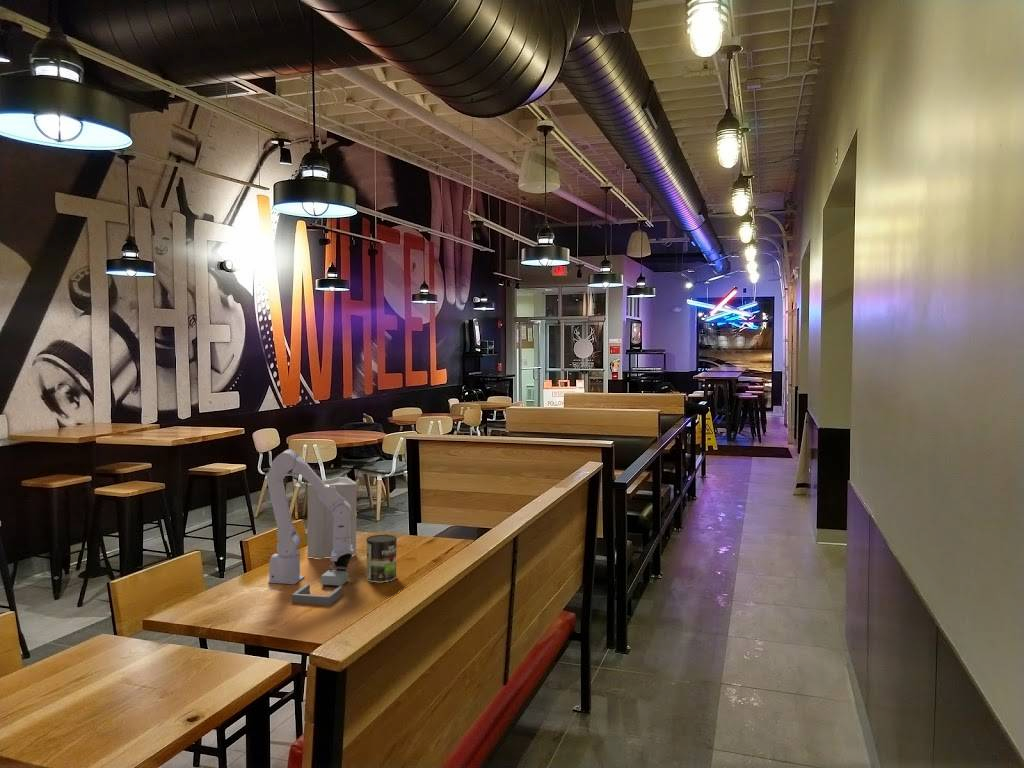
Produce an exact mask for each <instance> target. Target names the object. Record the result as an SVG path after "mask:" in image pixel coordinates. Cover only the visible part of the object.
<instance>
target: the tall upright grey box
mask: <svg viewBox="0 0 1024 768" xmlns="http://www.w3.org/2000/svg"><path fill="white" fill-rule="evenodd" d="M322 482H323V483H324V484H327V485H331V486H332V487H333V486H335V488H336V491H337V493H338V494H339V495H340V496H341V497H342V498H343V497H344V498H345V500H347V501H348V502H349V503H350V505H351V513H350V519H351V520H350V523H351V544H353V550H354V552H353V553H348V554H352V555H354V554H356V555H357V486H358V485H357V482H356V481H355V480H352V479H351V478H350V477H345V476H337V477H333V478H329V479H323V480H322ZM332 512H333V511H331V510H329V508H328V507H327V506H326V505H325V504H324V503H323V502H322V501H321V500H320V499H319V498H318V497H317V490H316V489H315V488H314V487H313V486H312V485H311V484H310V483H308V484H307V558H308V557H313V558H325V557H331V555H332V552H333V537H334V517H333V515H332Z"/></svg>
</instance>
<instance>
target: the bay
mask: <svg viewBox="0 0 1024 768" xmlns="http://www.w3.org/2000/svg"><path fill="white" fill-rule="evenodd" d="M343 589H344V586H343V585H342V586H338V587H337V588H335V589H334V590H333V591H331V592H330V593H329V594H328V595H322V594H321V595H319V594H309V593H310V591H311V585H310V584H307V583H306V584H304V585H302V587H300V588H299V589H297V590H296V591H295V592H293V593H292V594H291V604H302V605H303V604H304V605H305V604H306V605H317V606H319V605H320V606H331V605H332V604H333V603H334V602H336V601H337V600H338V599H339V598H340V597H342V596H343V594H344V593H343V592H344V590H343ZM336 599H337V600H336Z"/></svg>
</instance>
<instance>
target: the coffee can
mask: <svg viewBox="0 0 1024 768" xmlns="http://www.w3.org/2000/svg"><path fill="white" fill-rule="evenodd" d="M365 540H366V579H367V580H368V581H367V580H366V581H367V582H369V581H370V582H369V583H372V582H377V583H376V584H384V583H383V582H387V583H389V582H388V581H391V580H393V579H394V578H395V577H396V578H397V541H398V538H397V536H395V535H391V534H375V535H374V534H373V535H370V536H368V537H366V539H365ZM391 582H392V581H391Z"/></svg>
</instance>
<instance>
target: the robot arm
mask: <svg viewBox="0 0 1024 768" xmlns="http://www.w3.org/2000/svg"><path fill="white" fill-rule="evenodd" d="M291 470H292V471H291ZM290 471H291V474H296V475H301V476H302V477H303V478H304V480H306V482H307V483H308V484H311V485H312V486H313V487H314V488H315V489H316V490H317V497H318V498H319V499H320V500H321V501H322V502H323V503H324V504H325V505H326V506H327V507H328V508H329V510H331V511H333V512H332V515H333V517H334V537H333V552H332V555H331V559H330V562H333V564H334V566H337V567H347V568H348V567H349V563H350V560H351V559H352V558H353V557H352V554H348V553H353V552H354V550H353V544H351V523H350V520H351V519H350V513H351V505H350V503H349V502H348V501H347V500H345V498H344V497H343V498H342V497H341V496H340V495H339V494H338V493H337V491H336V488H335V486H333V487H332V486H331V485H327V484H324V483H323V482H322V481H323V480H321V478H320V477H319V475H318V474H317V473H316V472H315V470H313V469H312V468H311V466H310V465H309V464H308V462H307V461H306V460H305V459H304V457H302V456H300V455H299V453H298V452H297V451H296V450H293V449H291V448H290V449H289V448H288V449H286V450H283V452H281V453H280V454H278V455H277V456H276V457H275V458H274V459H273V460H272V461H271V465H270V468H269V470H268V473H267V476H266V482H267V487H268V492H269V496H270V501H271V505H272V510H273V515H274V518H275V523H276V528H277V529H276V530H277V532H276V539H277V545H276V553H273V554H272V555H271V557H270V559H269V564H268V565H269V567H268V568H269V569H268V571H269V579H268V584H269V583H270V584H283V585H295V584H296V583H298V582H300V581H301V580H303V579H304V578H305V577H306V576H305V575H301V573H300V571H301V564H300V562H301V557H300V556H301V551H300V550H299V546H300V545H301V542H302V541H301V537H300V534H298V533H297V531H296V527H295V525H294V524H293V521H292V515H291V510H290V505H289V502H288V498H287V493H286V489H285V488H286V487H285V483H284V478H285V477H286V476H287V474H288V473H289V472H290ZM351 557H352V558H351ZM336 570H337V571H345V569H336Z"/></svg>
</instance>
